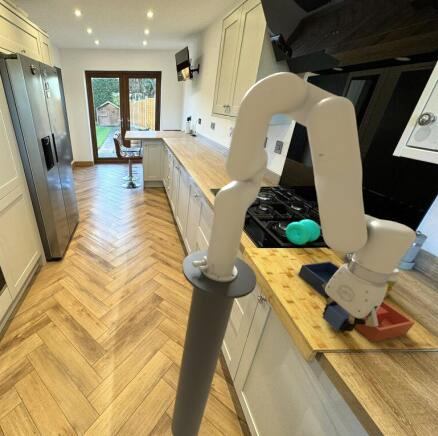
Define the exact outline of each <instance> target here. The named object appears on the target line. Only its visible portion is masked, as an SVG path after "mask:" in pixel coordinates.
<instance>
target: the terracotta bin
mask: <svg viewBox="0 0 438 436" xmlns="http://www.w3.org/2000/svg"><path fill="white" fill-rule="evenodd" d="M337 304H338V303H337ZM380 306H381V307H382V308H383V309H385V310H386V311H388V314H387V315H386V317H385V318H384V320H383V321H382V323H380V324H378V325H379V326H377V327H370V326H367V325H361V324H356V326H355V327H354V329H355V330H357V331H358V332H359V333H360V334H362V335H363V336H364V337H365V338H366V339H368V340H369V342H371V343H373V342H378V341H383V340H387V339H391V338H396V337H400V336H403V335H407V334H408V332H409V331H410V330H411V329H412V327H413V326H414V325H415V323H416V322H415V321H414V320H412V318H411V319H410V318H409V317H408V316H406V315H405V314H403V313H402V312H401V311H400V310H397V309H396V308H394V307H393V306H391V305H390V304H389V303H387V302H386V301H384V300H383V301H382V303H381V305H380ZM364 318H366V317H364ZM366 319H367V318H366Z"/></svg>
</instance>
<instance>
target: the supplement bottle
mask: <svg viewBox="0 0 438 436" xmlns="http://www.w3.org/2000/svg"><path fill="white" fill-rule="evenodd" d="M399 272H400V270H399V269H398V268H397V267H396V268H395V270H394V271H393V273H392V274H391V276H390V277H389V279H388V280H387V282H386V283H387V284H388V287H387V291H386V294H385V297H387V296H388V295H389V294H390V292H391V291H392V289H393V287H394V285H395V284H396V283H397V281H398V280H399V279H398V274H399Z"/></svg>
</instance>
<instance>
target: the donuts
mask: <svg viewBox="0 0 438 436" xmlns="http://www.w3.org/2000/svg"><path fill="white" fill-rule="evenodd" d="M320 235H321V229H320V225H318V223H316V221H314V220H311V219H302V220H300V221H293V222H291V223H289V224H288V225H287V226H286V229H285V236H286V238H287V240H288V241H289V242H291V243H292V244H294V245H298V246H299V245H300V246H301V245H304V244H306V243H307V242H314V241H316V240H317V239H318V238H319V237H320Z"/></svg>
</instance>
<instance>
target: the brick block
mask: <svg viewBox="0 0 438 436" xmlns="http://www.w3.org/2000/svg"><path fill="white" fill-rule="evenodd" d="M387 314H388V311H386V310H385V309H383V308H382V307H381V306H380V307H379V309H378V310H377V312H376V315H377V320H378V324H380V323H382V321H383V320H384V318H385V317H386V315H387ZM366 318H367V319H368V317H367V316H366Z"/></svg>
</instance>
